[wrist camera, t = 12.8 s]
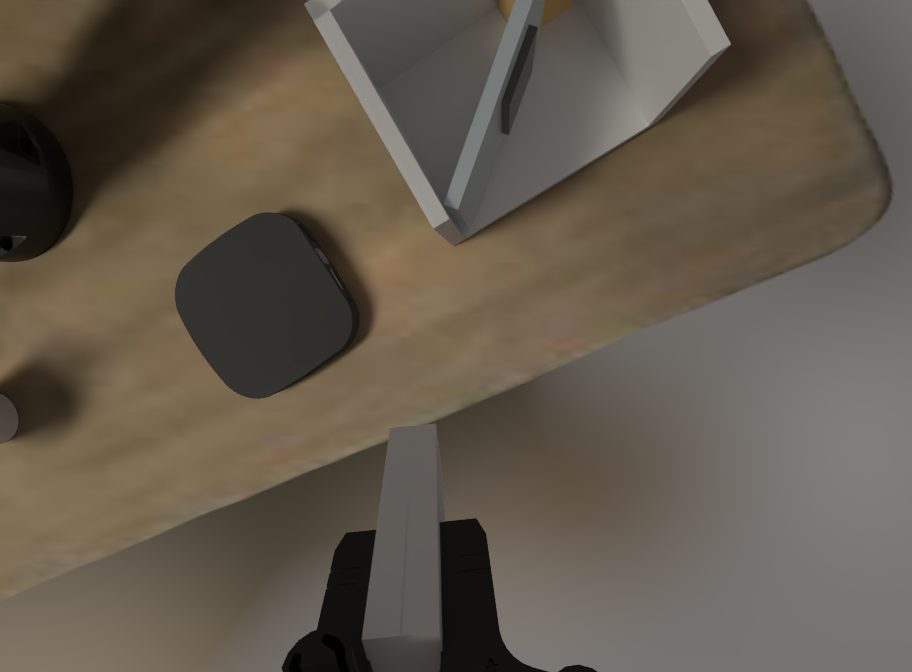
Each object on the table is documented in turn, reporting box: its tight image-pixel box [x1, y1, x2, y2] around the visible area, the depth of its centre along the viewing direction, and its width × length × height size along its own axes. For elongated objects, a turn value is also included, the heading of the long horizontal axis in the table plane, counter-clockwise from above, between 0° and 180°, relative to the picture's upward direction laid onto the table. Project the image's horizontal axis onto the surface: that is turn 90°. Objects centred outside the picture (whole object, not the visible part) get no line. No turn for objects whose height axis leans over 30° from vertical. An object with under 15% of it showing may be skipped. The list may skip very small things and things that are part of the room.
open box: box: [304, 0, 731, 246], centre depth 32 cm, size 16×22×12 cm
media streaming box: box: [175, 213, 359, 399], centre depth 41 cm, size 15×15×3 cm
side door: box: [444, 0, 545, 230], centre depth 32 cm, size 2×16×10 cm, turn 160°
